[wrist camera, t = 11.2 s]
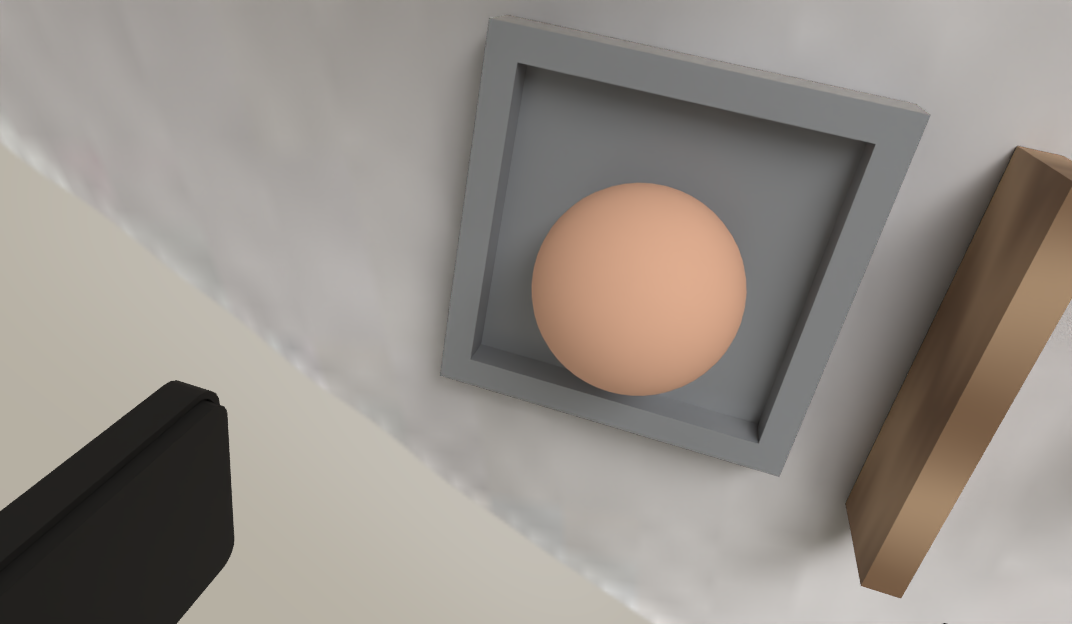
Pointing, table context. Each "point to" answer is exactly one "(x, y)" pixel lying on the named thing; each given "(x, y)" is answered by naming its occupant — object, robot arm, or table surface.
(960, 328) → the walnut wall
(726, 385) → the slate dish
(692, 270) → the ball
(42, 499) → the robot arm
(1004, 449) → the table surface
